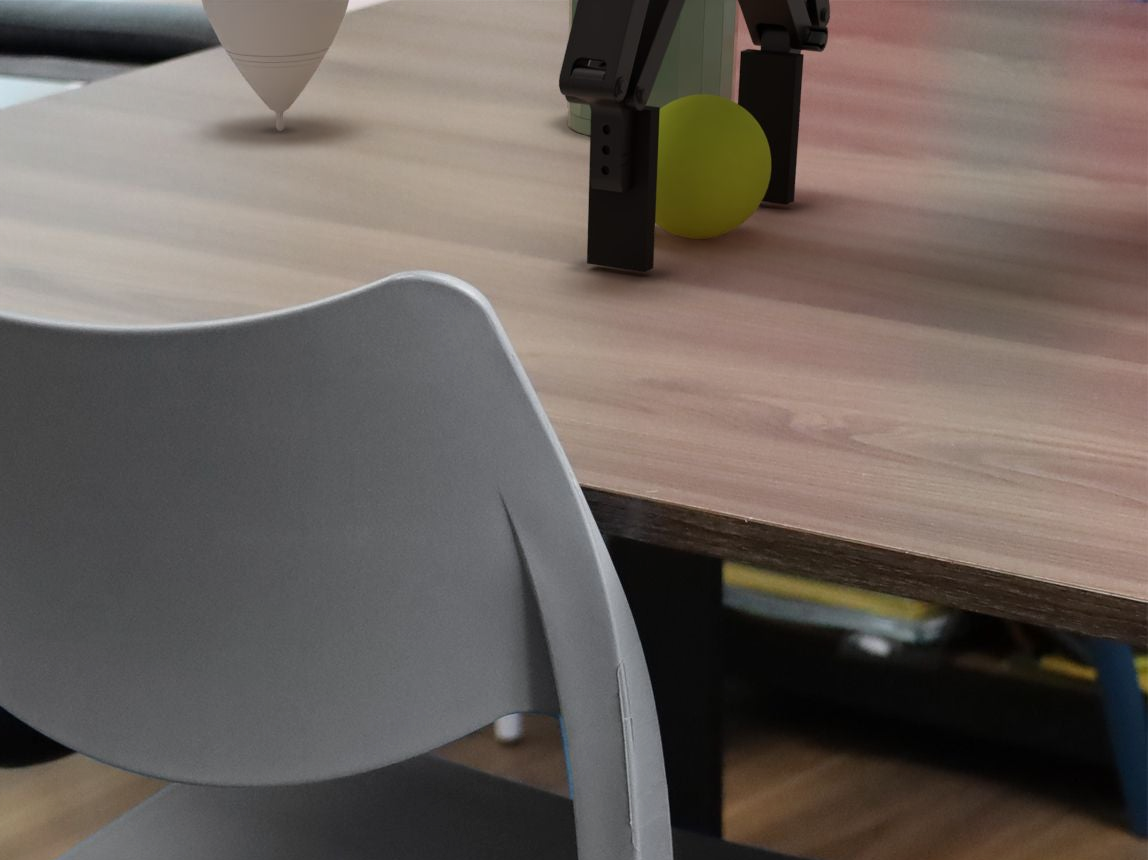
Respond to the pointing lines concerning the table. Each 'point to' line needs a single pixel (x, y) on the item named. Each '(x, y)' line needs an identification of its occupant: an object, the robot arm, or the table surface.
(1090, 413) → the table surface
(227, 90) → the table surface
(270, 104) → the spinning top
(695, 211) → the ball
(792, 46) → the robot arm
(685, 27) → the green cylinder
